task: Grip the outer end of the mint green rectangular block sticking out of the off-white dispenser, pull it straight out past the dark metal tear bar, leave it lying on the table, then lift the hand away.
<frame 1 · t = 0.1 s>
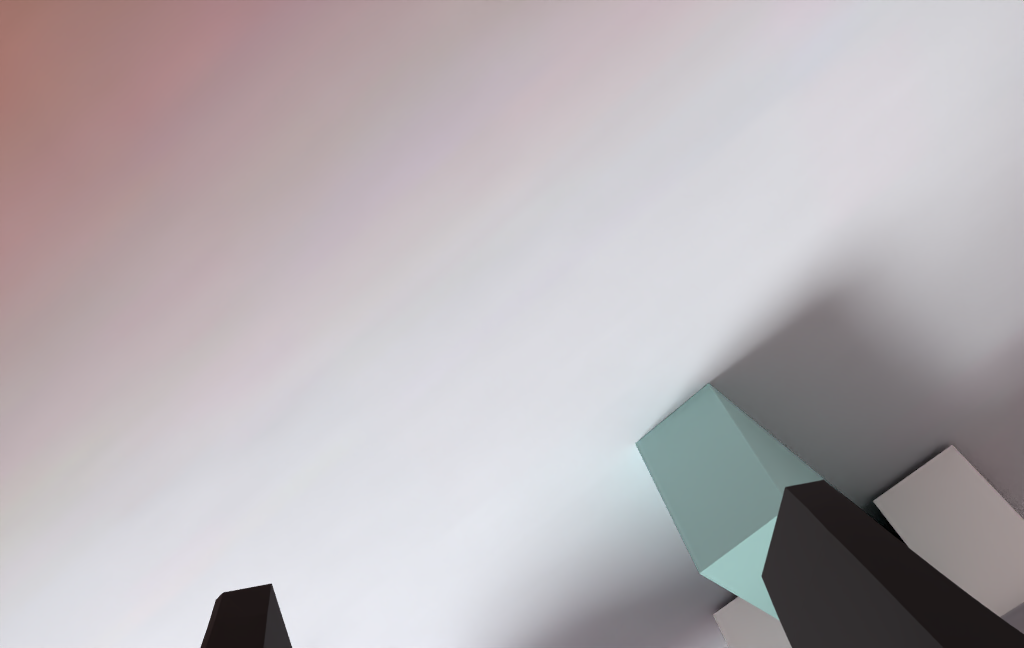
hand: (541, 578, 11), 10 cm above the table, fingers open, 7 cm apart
dispenser: (882, 577, 32), on the table
mint green rectangular block: (797, 508, 29), on the table
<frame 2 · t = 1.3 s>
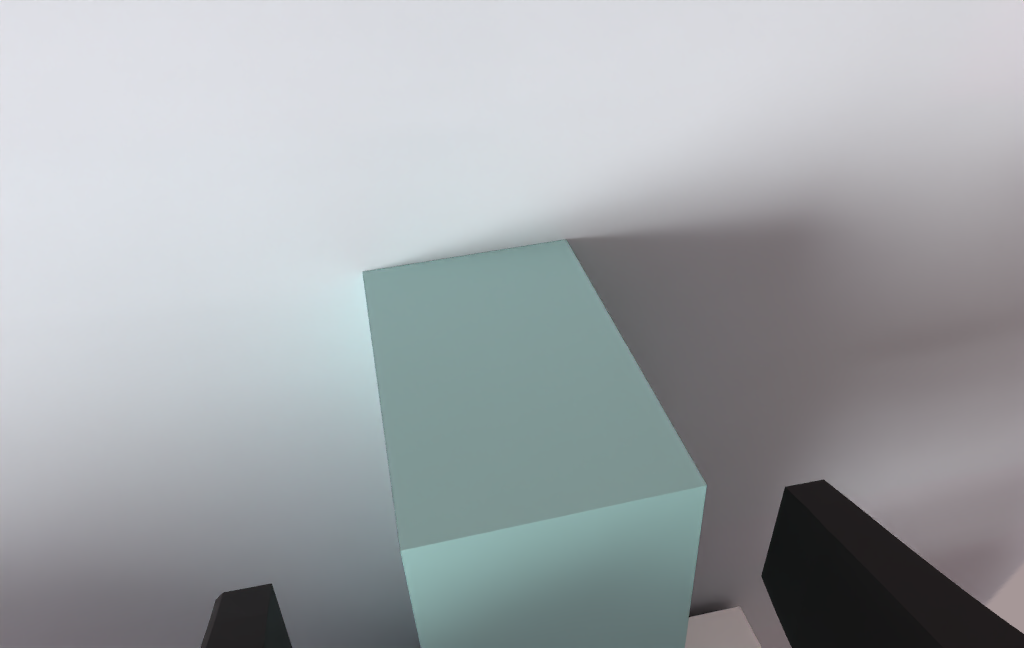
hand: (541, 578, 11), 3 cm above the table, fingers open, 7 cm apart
mint green rectangular block: (499, 590, 16), on the table
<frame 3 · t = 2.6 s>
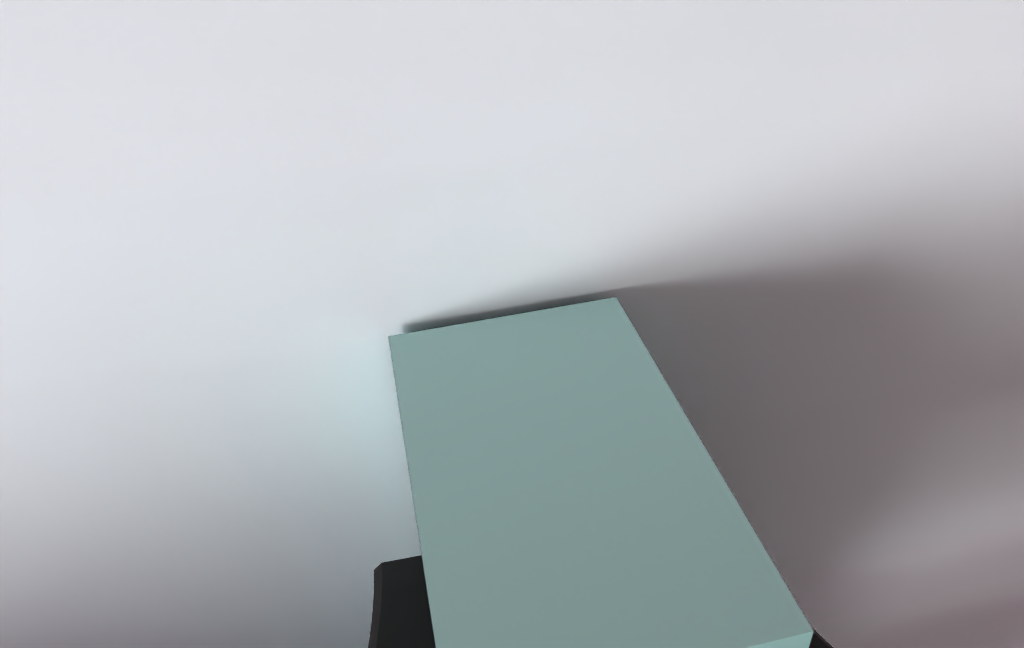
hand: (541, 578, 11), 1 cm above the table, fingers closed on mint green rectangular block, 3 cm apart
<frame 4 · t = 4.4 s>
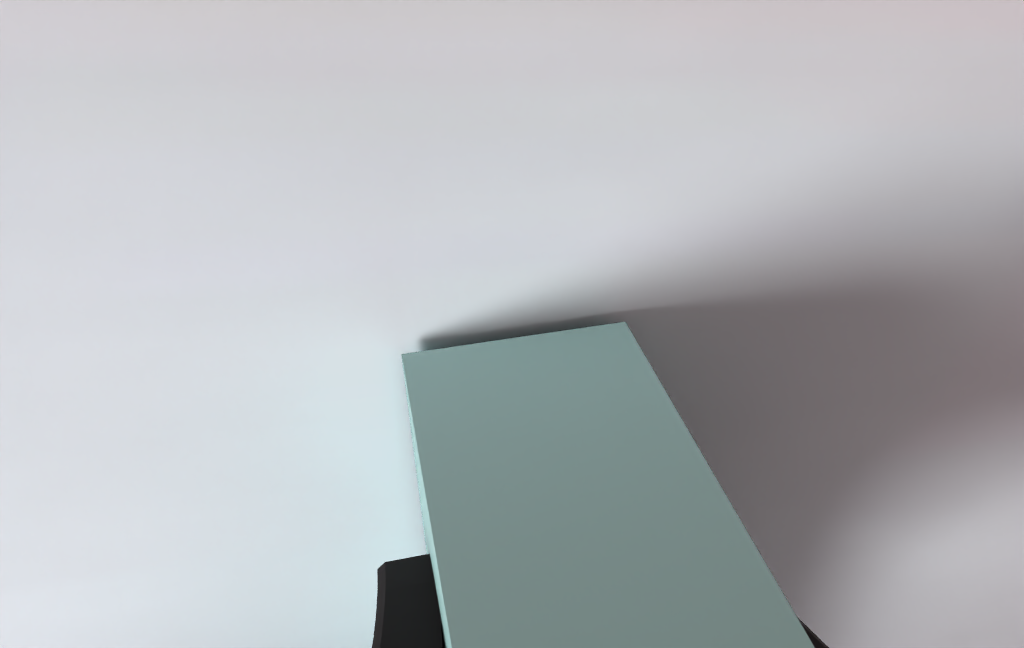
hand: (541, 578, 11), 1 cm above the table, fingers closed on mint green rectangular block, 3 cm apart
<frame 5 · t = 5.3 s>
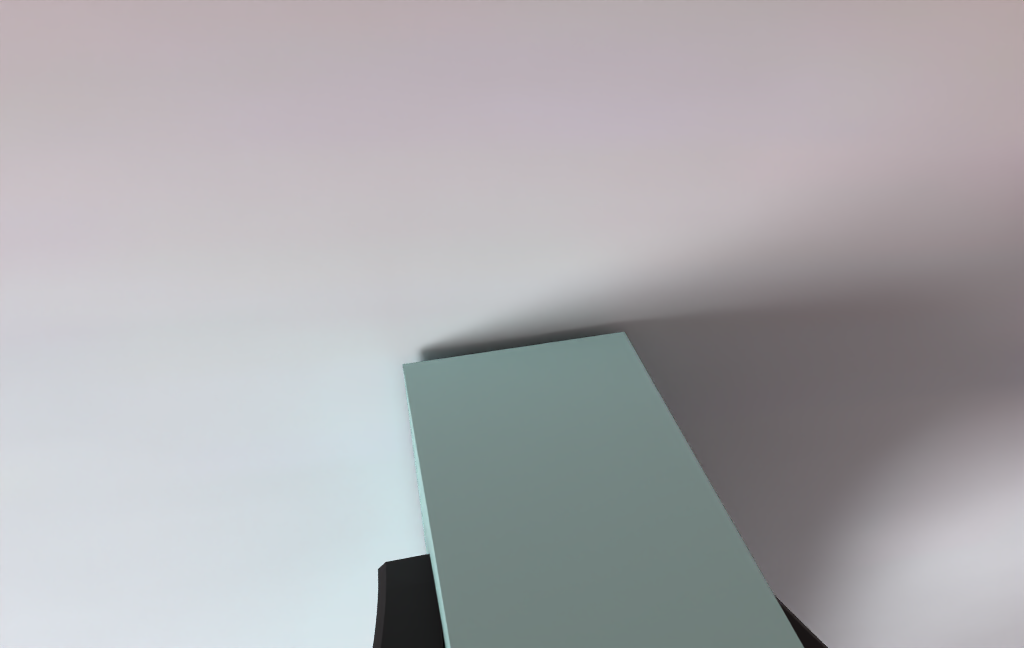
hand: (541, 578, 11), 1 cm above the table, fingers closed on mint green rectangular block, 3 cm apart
when the fingers open (1 cm above the table, at t = 6.2 s): mint green rectangular block stays where it is, on the table.
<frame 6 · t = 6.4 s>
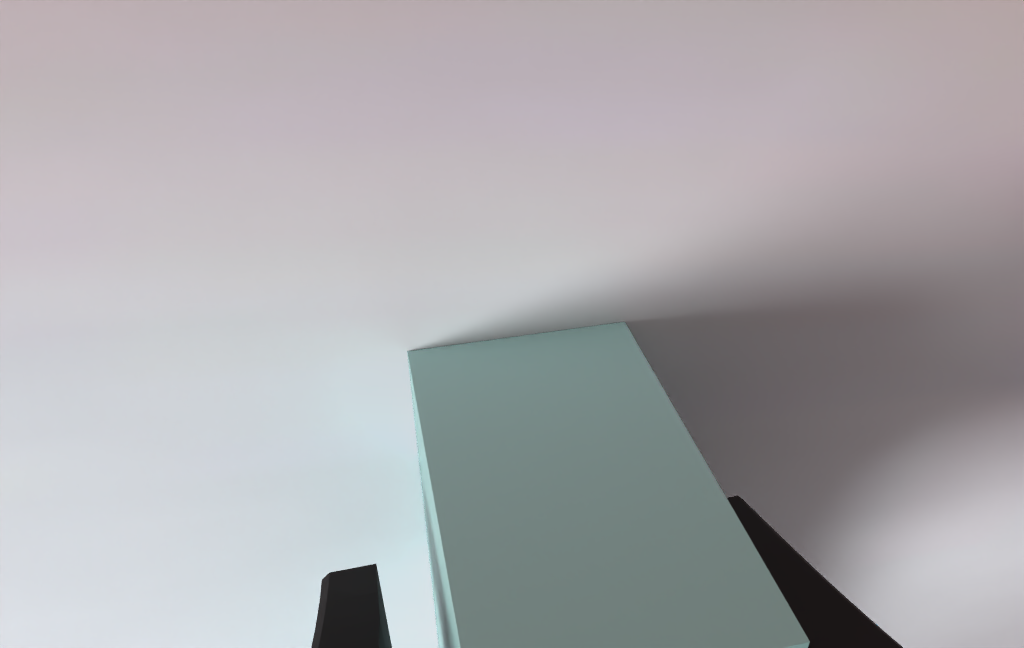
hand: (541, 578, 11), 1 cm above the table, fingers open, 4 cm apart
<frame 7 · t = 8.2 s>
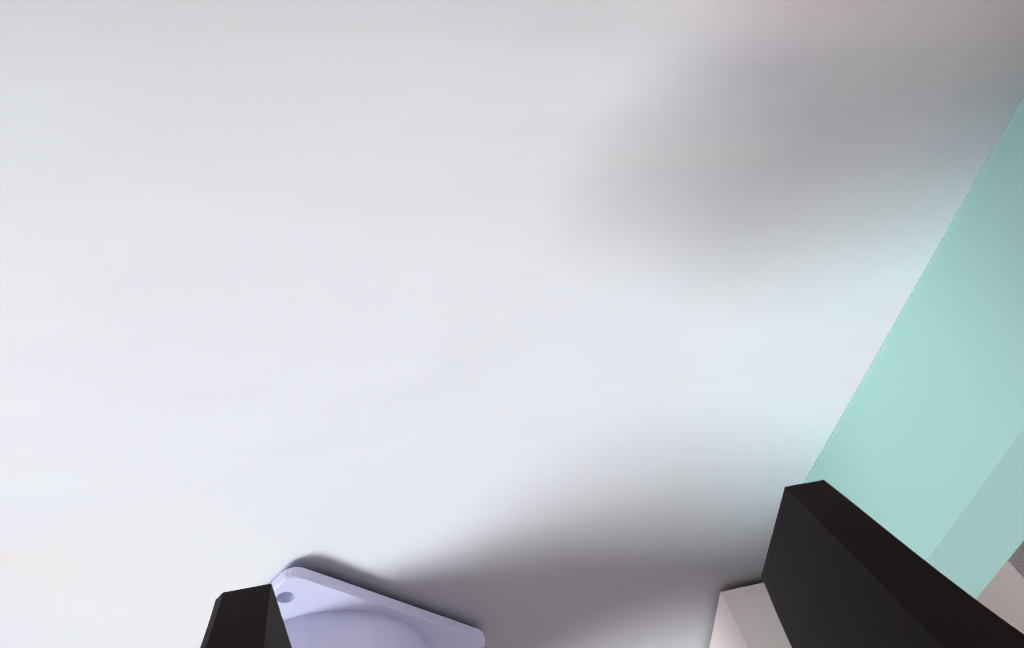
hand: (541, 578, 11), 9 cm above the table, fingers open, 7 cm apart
dispenser: (829, 637, 33), on the table
mint green rectangular block: (927, 336, 24), on the table
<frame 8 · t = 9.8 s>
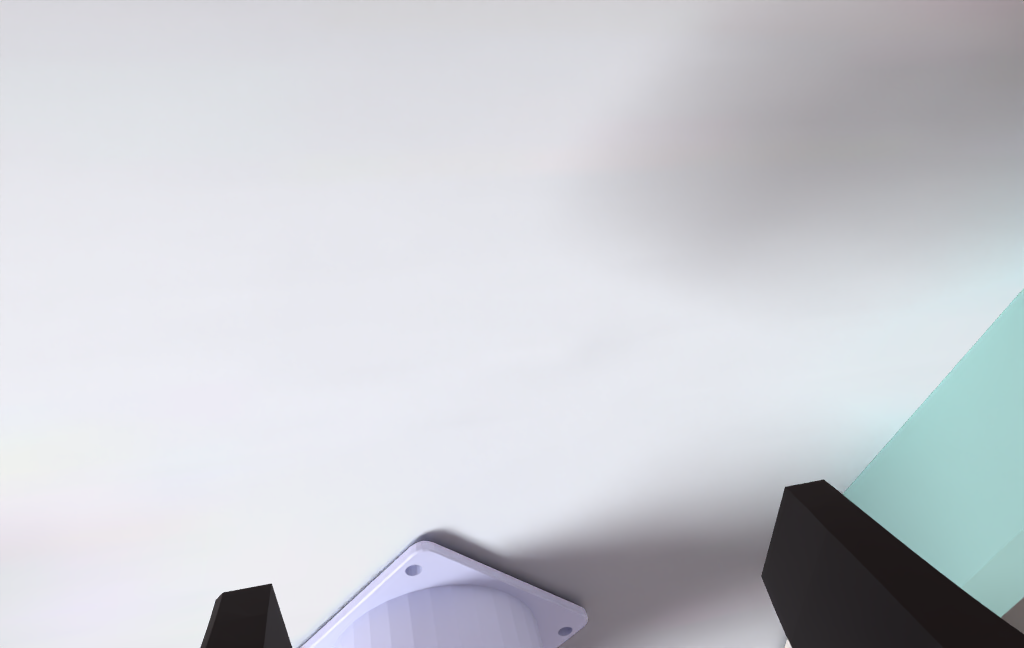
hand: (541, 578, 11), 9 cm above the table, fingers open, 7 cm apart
dispenser: (901, 623, 34), on the table
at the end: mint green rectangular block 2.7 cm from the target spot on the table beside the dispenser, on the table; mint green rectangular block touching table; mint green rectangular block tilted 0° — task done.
